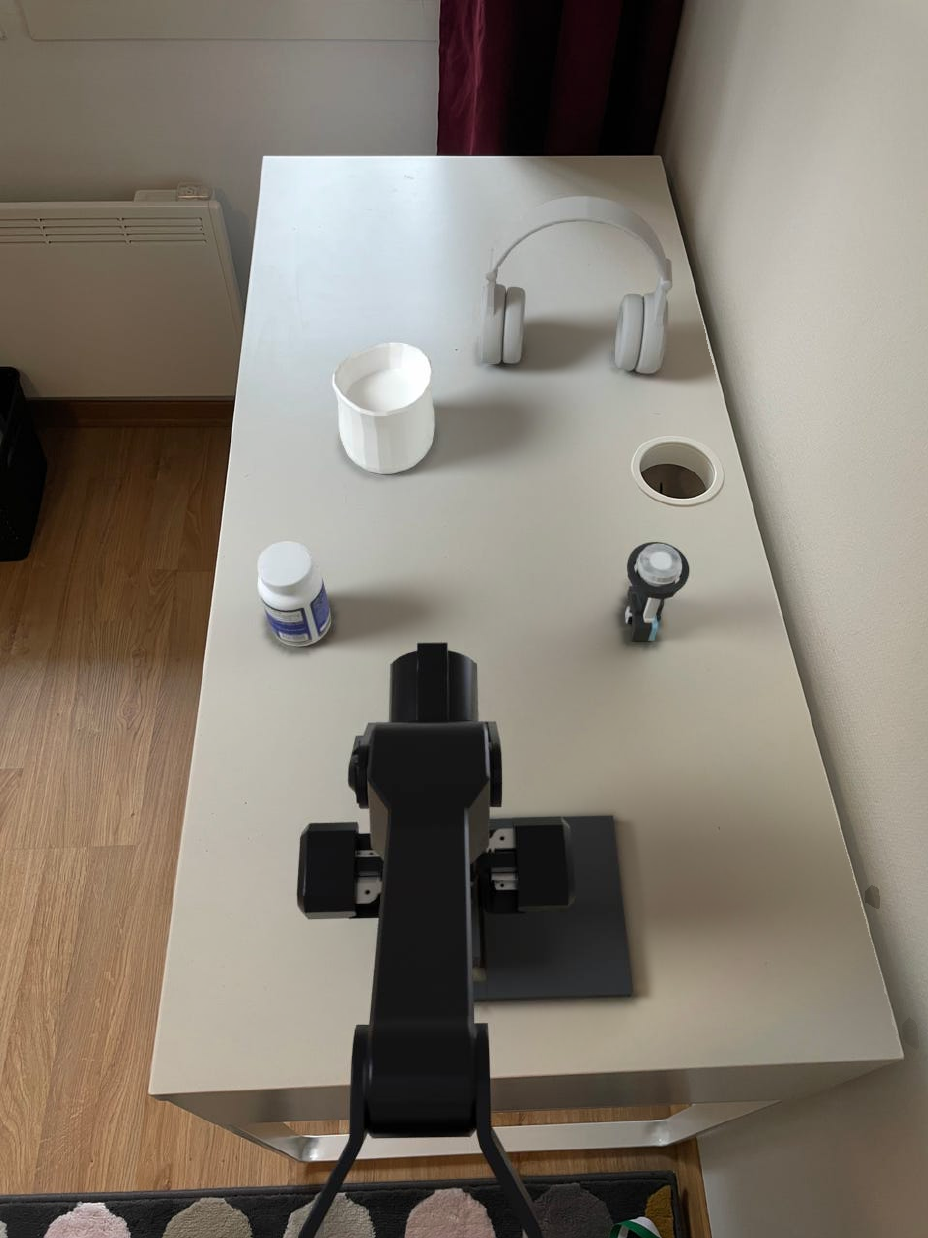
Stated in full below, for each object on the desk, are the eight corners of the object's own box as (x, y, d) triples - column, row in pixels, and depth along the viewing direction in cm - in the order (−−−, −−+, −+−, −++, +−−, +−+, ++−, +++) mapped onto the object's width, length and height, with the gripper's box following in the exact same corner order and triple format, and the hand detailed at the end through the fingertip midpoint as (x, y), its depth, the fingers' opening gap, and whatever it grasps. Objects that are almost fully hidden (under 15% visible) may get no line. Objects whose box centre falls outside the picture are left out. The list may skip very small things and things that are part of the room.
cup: (326, 460, 100) (314, 393, 92) (371, 396, 105) (363, 327, 96) (407, 490, 98) (403, 425, 90) (449, 424, 103) (449, 356, 94)
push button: (608, 585, 92) (624, 523, 84) (663, 584, 92) (685, 522, 84) (615, 645, 89) (633, 587, 80) (673, 644, 89) (696, 586, 80)
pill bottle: (309, 586, 92) (293, 524, 83) (344, 626, 90) (332, 566, 81) (258, 618, 90) (238, 558, 81) (293, 660, 88) (275, 602, 79)
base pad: (630, 997, 73) (633, 994, 72) (394, 1004, 73) (393, 1002, 71) (610, 820, 80) (612, 815, 79) (395, 826, 80) (395, 821, 79)
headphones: (655, 336, 110) (690, 184, 93) (657, 390, 105) (694, 240, 89) (481, 326, 110) (485, 173, 94) (476, 379, 106) (479, 228, 89)
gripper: (571, 712, 64) (551, 795, 77) (292, 719, 64) (321, 801, 77) (587, 877, 58) (563, 936, 72) (281, 886, 58) (314, 944, 71)
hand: (438, 898), depth 73 cm, fingers closed on foam pad, 6 cm apart
